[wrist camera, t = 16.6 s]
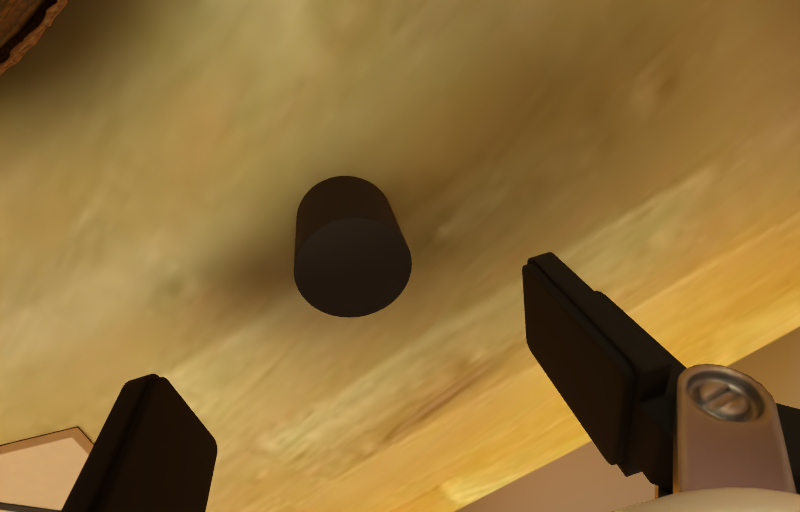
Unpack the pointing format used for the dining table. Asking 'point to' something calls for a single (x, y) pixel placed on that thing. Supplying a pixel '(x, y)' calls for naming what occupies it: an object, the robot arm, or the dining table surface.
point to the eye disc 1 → (349, 249)
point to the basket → (24, 26)
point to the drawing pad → (41, 471)
